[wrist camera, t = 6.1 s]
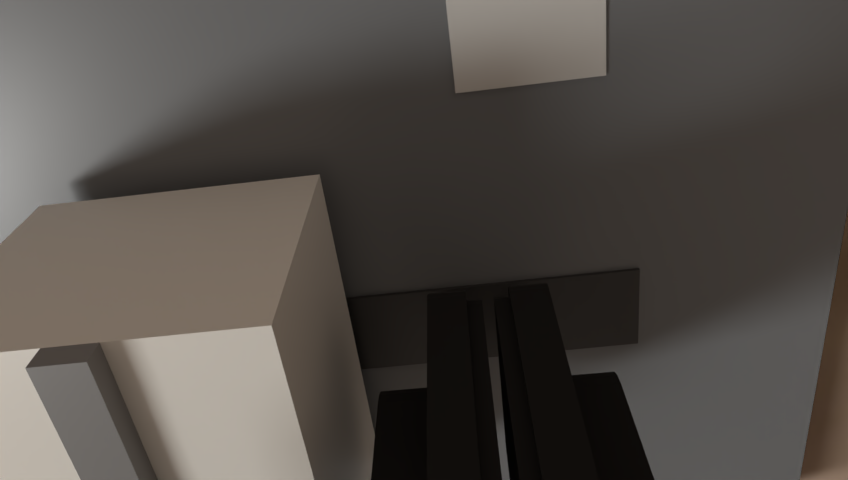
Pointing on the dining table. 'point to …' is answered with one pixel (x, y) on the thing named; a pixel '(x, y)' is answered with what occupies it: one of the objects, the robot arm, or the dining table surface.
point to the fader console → (495, 175)
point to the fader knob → (180, 340)
